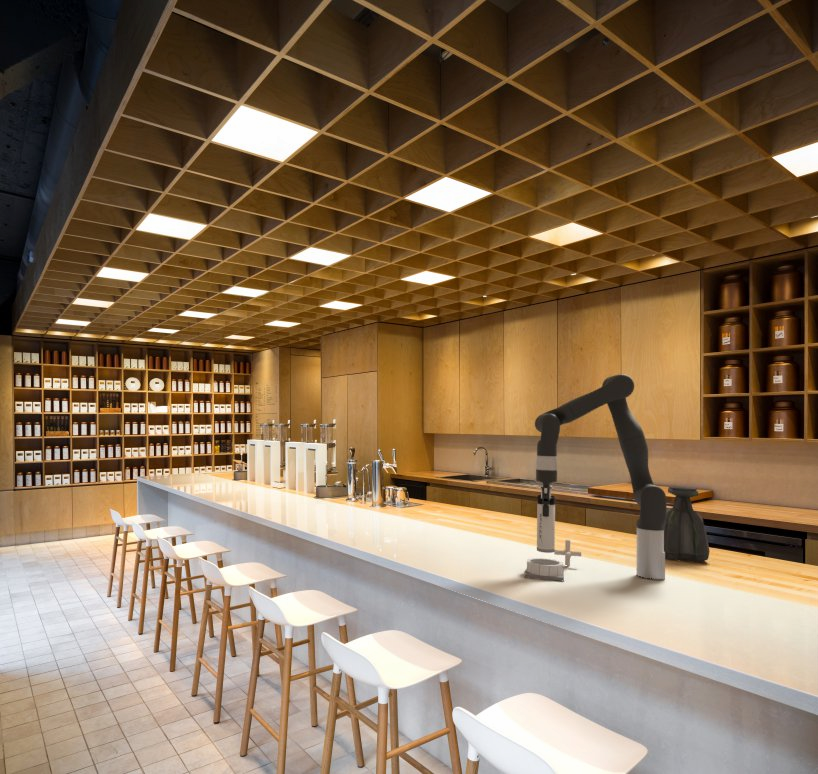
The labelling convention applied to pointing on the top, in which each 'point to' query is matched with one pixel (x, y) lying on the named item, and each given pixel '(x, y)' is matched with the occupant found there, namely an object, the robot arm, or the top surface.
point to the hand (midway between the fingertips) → (545, 515)
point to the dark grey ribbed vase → (684, 529)
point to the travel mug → (546, 527)
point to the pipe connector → (567, 552)
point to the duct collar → (544, 569)
